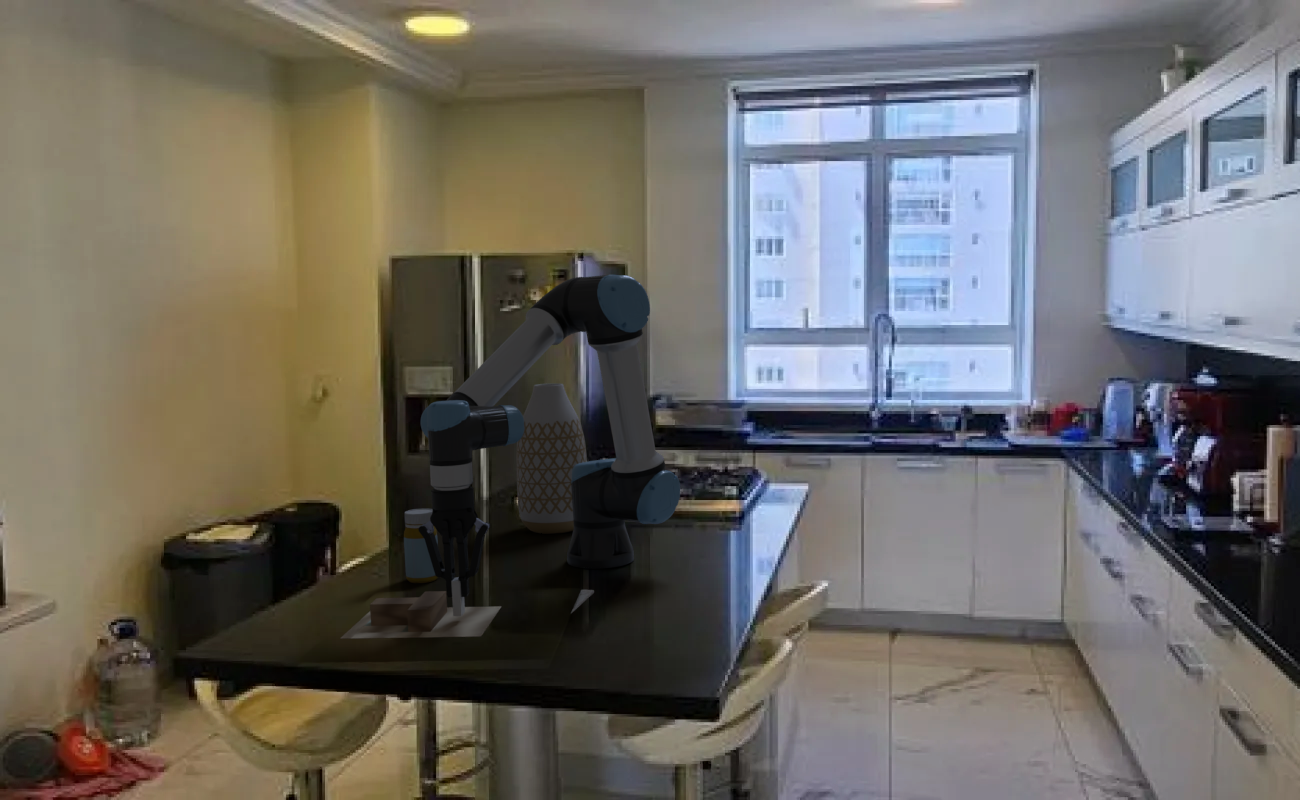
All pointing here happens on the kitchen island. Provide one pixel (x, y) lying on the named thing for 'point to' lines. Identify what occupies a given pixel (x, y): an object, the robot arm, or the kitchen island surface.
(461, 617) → the board
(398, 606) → the t block
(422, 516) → the bottle
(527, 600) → the kitchen island surface
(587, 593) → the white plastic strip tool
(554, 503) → the vase
